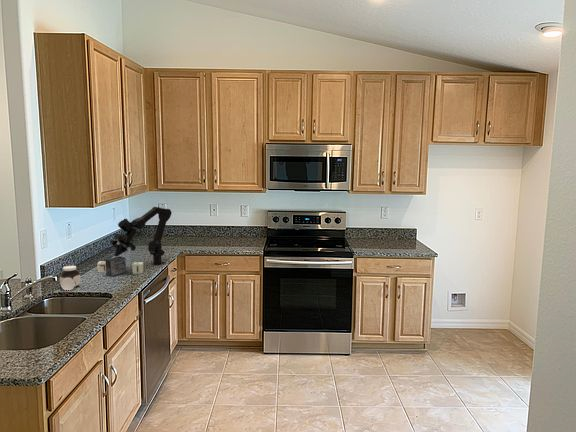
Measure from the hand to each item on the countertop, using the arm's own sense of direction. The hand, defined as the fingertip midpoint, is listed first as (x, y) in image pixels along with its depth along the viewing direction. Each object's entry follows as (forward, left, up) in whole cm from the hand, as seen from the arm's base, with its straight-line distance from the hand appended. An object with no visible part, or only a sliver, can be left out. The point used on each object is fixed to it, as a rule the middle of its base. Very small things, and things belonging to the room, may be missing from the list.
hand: (115, 256), depth 281 cm
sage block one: (-2, +13, -12) cm, 18 cm away
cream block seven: (-10, -9, -12) cm, 18 cm away
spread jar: (+26, -21, -12) cm, 36 cm away
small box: (0, 0, -12) cm, 12 cm away
